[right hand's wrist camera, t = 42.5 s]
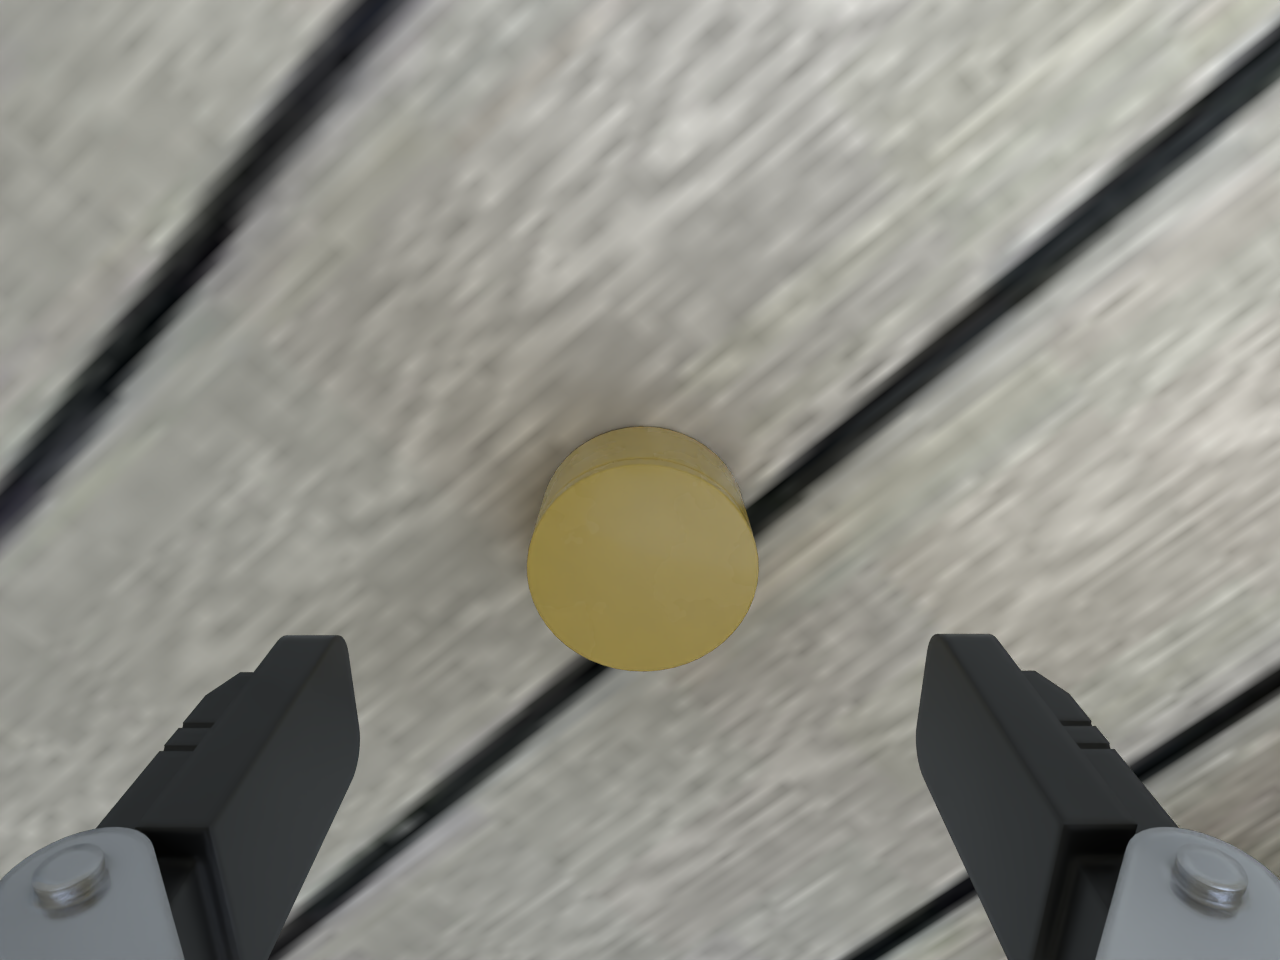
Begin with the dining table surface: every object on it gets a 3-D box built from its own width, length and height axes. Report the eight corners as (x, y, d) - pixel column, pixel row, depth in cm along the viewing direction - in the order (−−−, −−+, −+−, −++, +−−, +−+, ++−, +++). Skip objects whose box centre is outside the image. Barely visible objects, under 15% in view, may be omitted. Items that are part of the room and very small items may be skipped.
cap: (697, 636, 17) (705, 699, 15) (514, 573, 17) (496, 631, 15) (777, 467, 16) (797, 513, 14) (581, 394, 15) (571, 430, 13)
